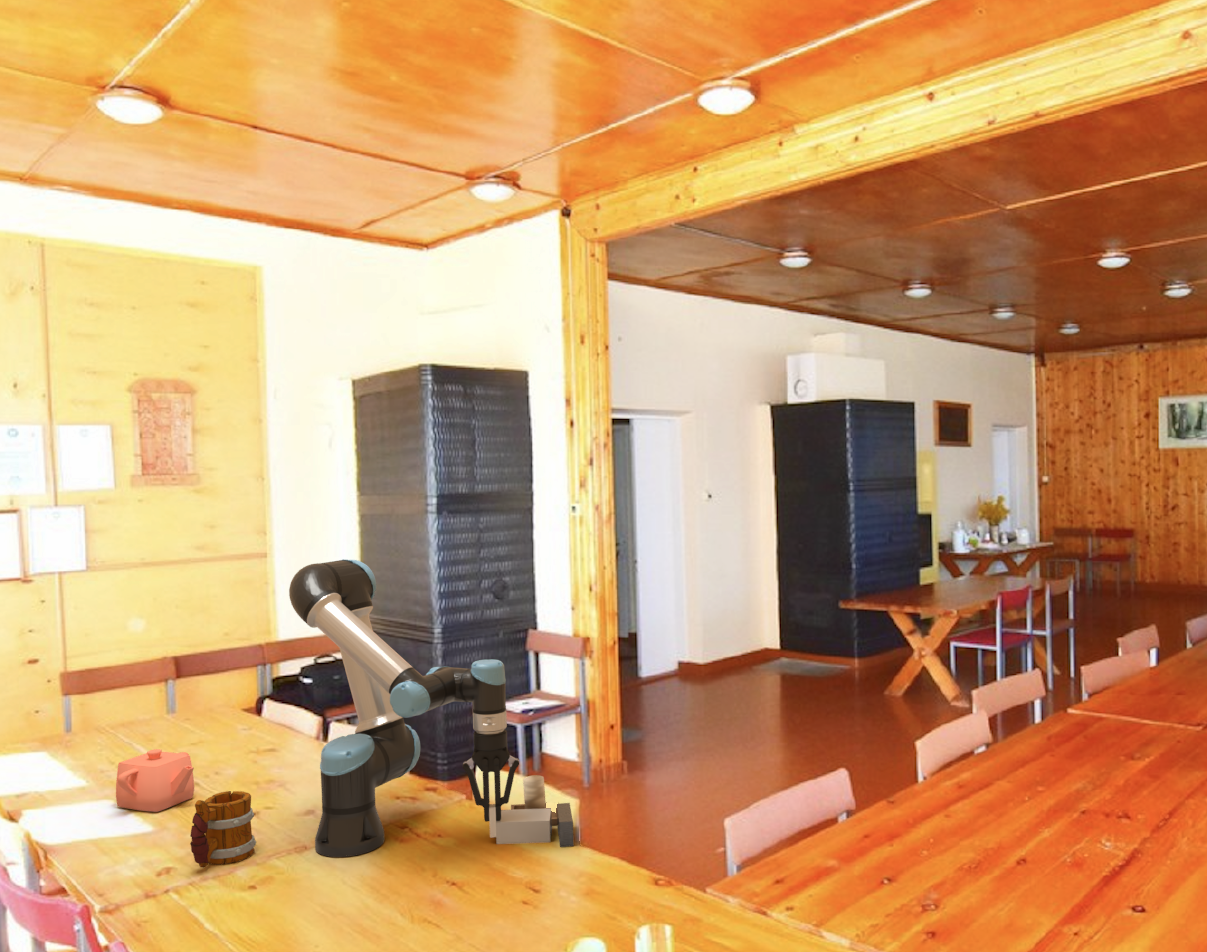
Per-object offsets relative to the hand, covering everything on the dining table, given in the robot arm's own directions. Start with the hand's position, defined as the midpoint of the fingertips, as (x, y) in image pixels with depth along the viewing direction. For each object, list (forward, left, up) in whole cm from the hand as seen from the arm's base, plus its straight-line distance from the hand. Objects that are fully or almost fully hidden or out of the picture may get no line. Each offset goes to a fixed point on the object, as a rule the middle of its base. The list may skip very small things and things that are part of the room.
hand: (493, 835), depth 211 cm
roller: (+10, +13, -1) cm, 16 cm away
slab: (+7, +2, -2) cm, 8 cm away
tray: (+10, +13, -2) cm, 16 cm away
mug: (-59, 0, -2) cm, 59 cm away
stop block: (+16, 0, -2) cm, 16 cm away
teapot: (-86, +41, -2) cm, 96 cm away
